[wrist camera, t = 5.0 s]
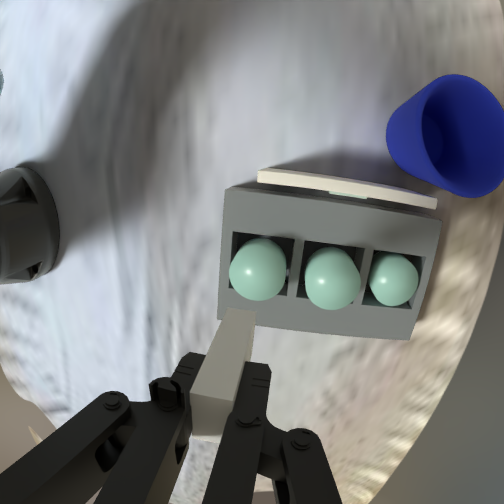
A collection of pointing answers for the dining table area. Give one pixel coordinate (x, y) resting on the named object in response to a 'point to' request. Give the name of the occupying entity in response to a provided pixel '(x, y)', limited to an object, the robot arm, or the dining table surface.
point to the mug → (450, 136)
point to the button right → (392, 278)
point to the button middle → (331, 278)
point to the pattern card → (345, 186)
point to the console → (335, 232)
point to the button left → (258, 269)
